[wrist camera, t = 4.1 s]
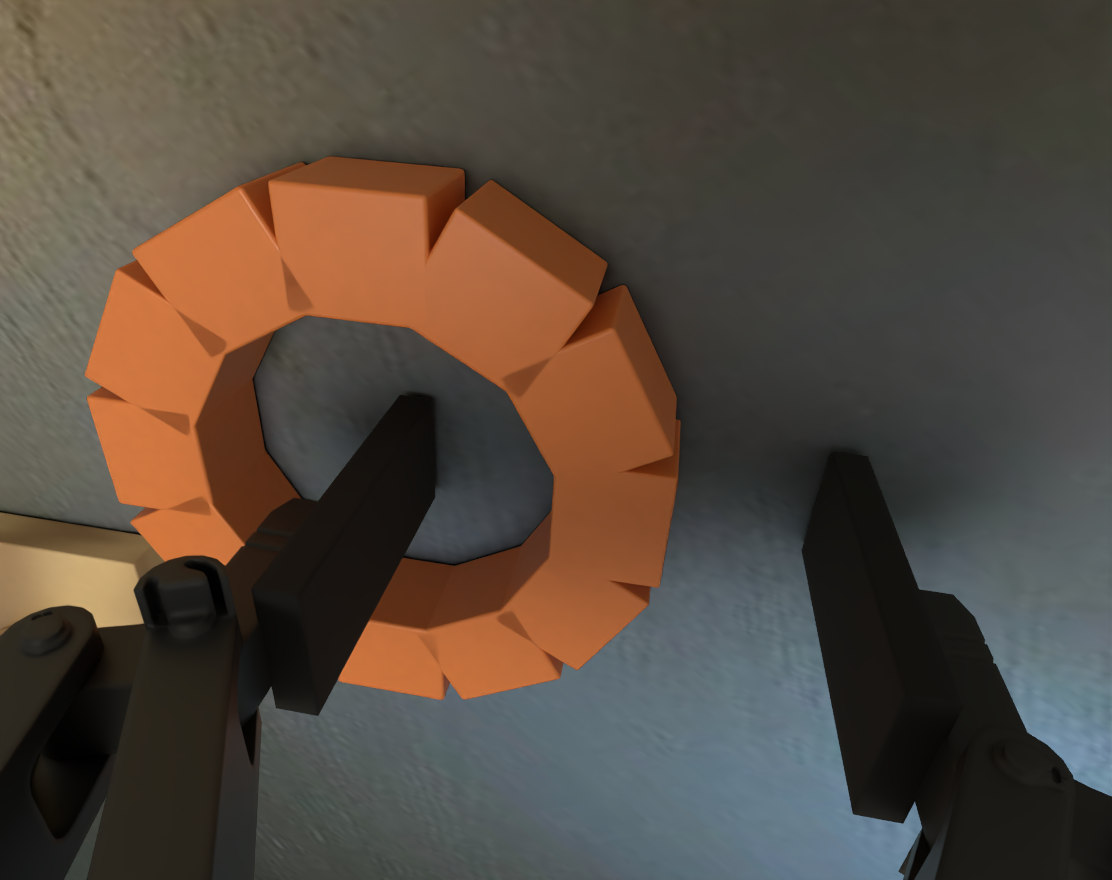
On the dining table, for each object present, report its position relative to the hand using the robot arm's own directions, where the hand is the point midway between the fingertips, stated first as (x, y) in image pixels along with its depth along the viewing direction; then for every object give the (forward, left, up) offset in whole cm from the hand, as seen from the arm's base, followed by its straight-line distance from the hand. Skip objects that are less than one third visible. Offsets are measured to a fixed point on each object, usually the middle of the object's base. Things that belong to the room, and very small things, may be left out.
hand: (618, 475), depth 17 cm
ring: (+5, 0, 0) cm, 5 cm away
